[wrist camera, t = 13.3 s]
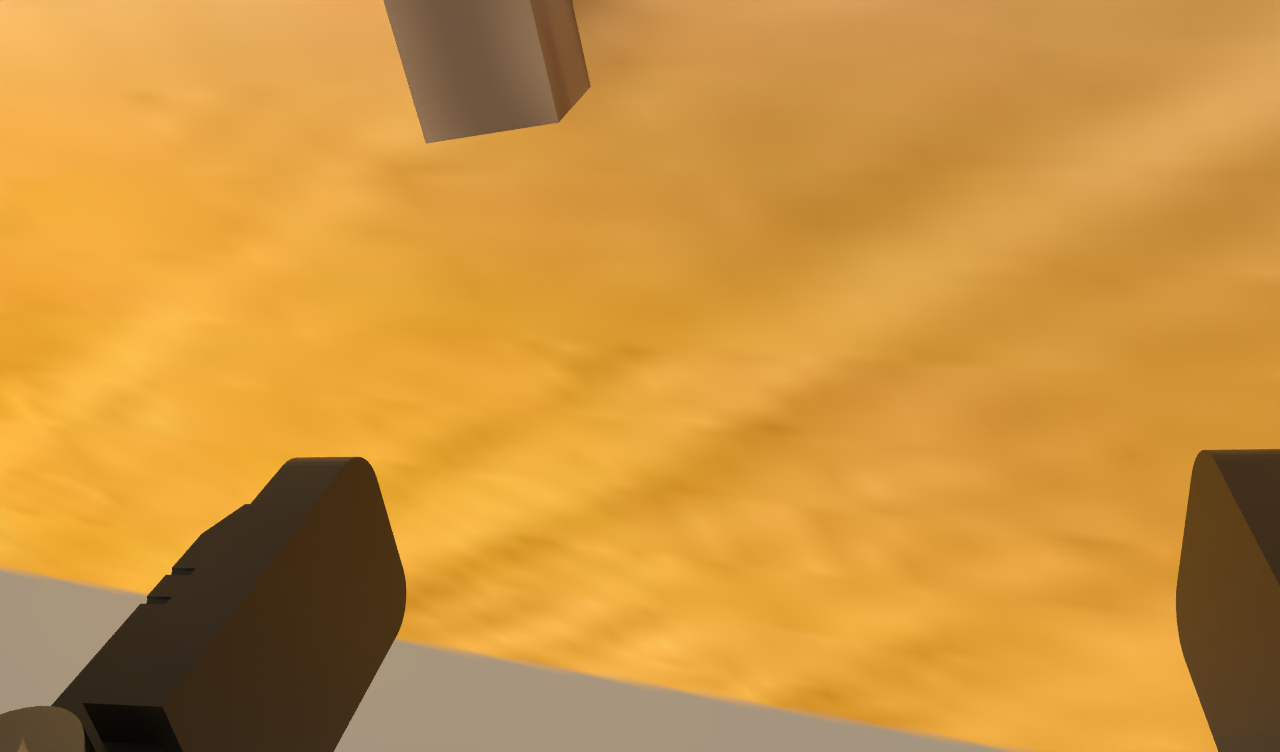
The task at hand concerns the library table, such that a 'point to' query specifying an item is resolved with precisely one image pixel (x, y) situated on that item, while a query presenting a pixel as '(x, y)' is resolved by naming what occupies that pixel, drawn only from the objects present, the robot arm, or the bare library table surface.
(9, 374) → the library table surface
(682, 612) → the library table surface
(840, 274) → the library table surface
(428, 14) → the walnut bar
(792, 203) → the library table surface
